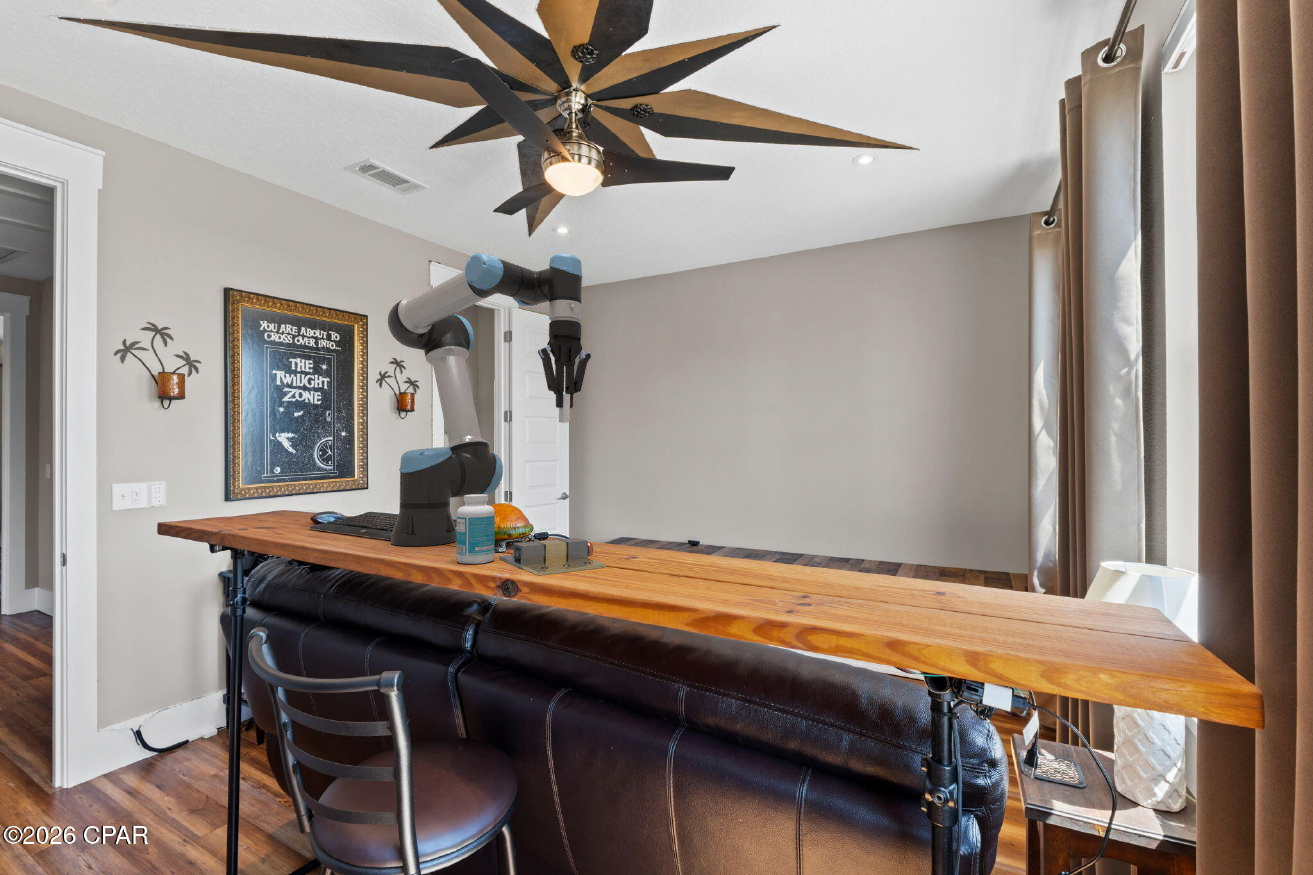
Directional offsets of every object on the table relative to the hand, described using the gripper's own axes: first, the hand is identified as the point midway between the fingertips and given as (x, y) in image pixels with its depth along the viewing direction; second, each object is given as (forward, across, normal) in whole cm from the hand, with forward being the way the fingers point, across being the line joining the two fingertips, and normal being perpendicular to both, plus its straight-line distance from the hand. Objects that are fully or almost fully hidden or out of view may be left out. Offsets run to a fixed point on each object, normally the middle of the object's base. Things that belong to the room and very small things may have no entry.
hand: (564, 422), depth 135 cm
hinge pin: (+29, -9, -15) cm, 34 cm away
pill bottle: (+30, -22, -5) cm, 37 cm away
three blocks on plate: (+29, -10, -15) cm, 34 cm away
